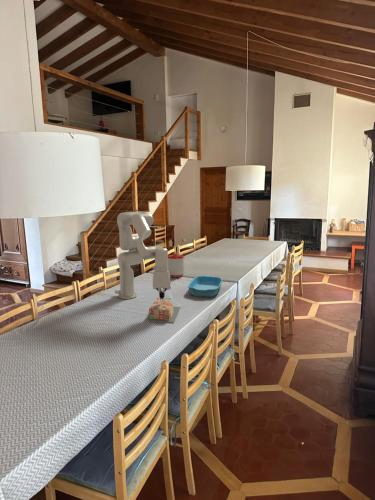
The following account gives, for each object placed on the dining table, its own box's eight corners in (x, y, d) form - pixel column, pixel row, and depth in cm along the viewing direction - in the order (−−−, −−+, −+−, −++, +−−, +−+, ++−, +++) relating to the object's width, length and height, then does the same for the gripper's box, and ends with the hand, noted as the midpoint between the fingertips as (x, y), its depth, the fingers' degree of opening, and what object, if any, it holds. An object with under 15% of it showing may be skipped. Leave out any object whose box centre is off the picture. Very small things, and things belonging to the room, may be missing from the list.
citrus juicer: (166, 273, 317) (166, 251, 313) (185, 274, 314) (185, 251, 311) (162, 278, 302) (162, 254, 298) (183, 278, 299) (183, 255, 295)
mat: (149, 321, 207) (149, 321, 207) (158, 306, 233) (158, 305, 233) (173, 323, 206) (173, 322, 206) (180, 307, 231) (180, 306, 231)
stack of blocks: (156, 297, 230) (175, 298, 228) (156, 306, 231) (175, 307, 229) (148, 309, 209) (169, 310, 207) (149, 319, 210) (169, 320, 208)
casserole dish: (216, 300, 246) (216, 290, 245) (184, 297, 252) (184, 287, 250) (224, 285, 282) (224, 276, 280) (196, 283, 287) (196, 274, 285)
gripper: (147, 269, 211) (148, 299, 215) (173, 270, 210) (173, 300, 213) (150, 266, 219) (151, 296, 222) (175, 267, 217) (175, 296, 220)
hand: (162, 298), depth 218 cm, fingers closed
